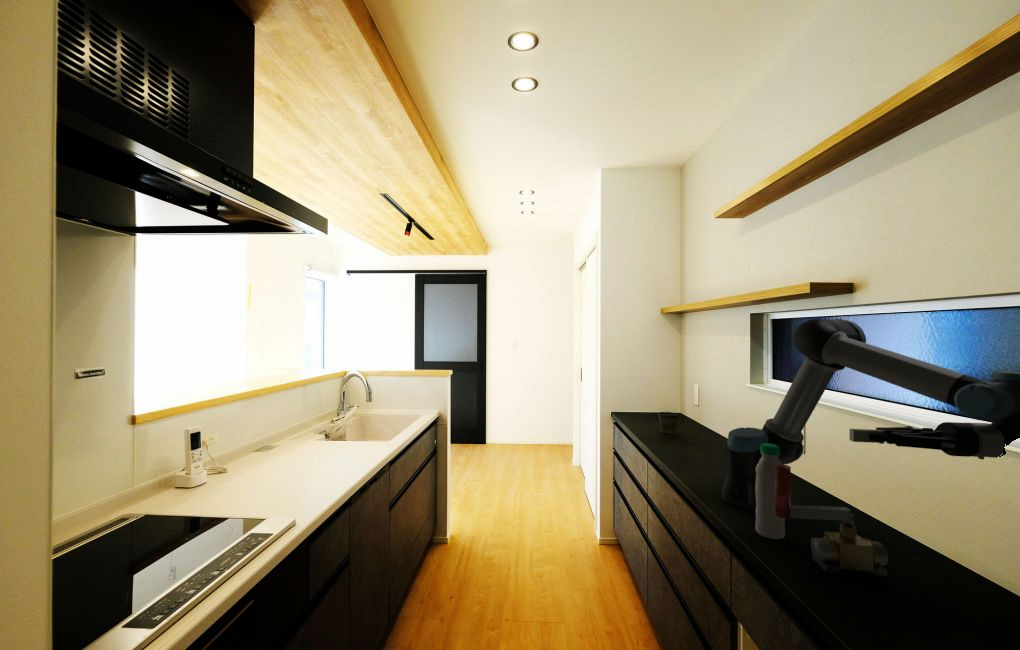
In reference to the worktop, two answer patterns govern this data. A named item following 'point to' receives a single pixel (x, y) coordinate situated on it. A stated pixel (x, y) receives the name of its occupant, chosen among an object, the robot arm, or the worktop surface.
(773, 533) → the water bottle
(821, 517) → the valve lever
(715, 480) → the worktop surface
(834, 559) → the valve body
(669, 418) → the ceramic cup
